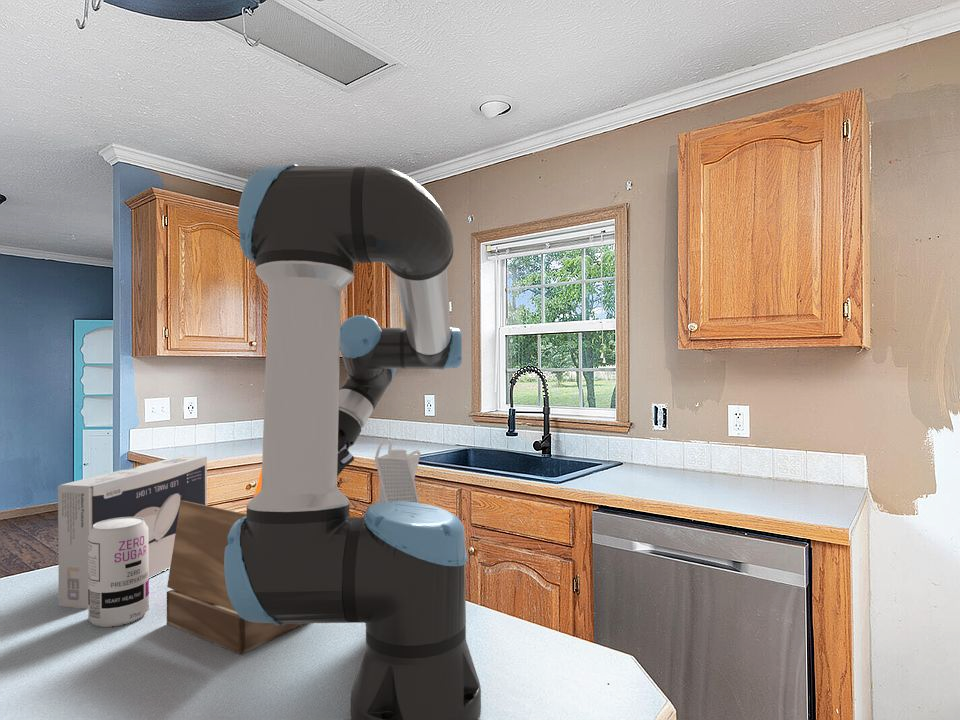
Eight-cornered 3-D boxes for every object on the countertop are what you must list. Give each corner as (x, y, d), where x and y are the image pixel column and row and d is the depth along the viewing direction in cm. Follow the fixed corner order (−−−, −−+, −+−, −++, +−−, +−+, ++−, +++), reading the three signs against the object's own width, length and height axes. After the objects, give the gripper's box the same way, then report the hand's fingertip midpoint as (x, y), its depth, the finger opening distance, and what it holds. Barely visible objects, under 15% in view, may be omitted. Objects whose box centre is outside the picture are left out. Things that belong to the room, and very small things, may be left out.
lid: (170, 586, 94) (183, 500, 96) (241, 611, 85) (254, 515, 86) (167, 587, 93) (180, 500, 95) (238, 612, 84) (251, 516, 86)
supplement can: (110, 606, 100) (110, 515, 100) (159, 607, 100) (159, 516, 100) (76, 628, 92) (75, 529, 92) (129, 629, 92) (128, 530, 92)
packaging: (89, 608, 100) (88, 486, 99) (58, 605, 101) (57, 485, 101) (208, 550, 129) (207, 456, 129) (182, 548, 130) (182, 455, 130)
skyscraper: (362, 615, 97) (362, 439, 96) (410, 605, 101) (409, 436, 100) (381, 637, 89) (380, 446, 89) (431, 624, 93) (431, 442, 93)
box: (245, 593, 106) (245, 565, 105) (318, 617, 96) (318, 586, 96) (166, 624, 94) (166, 591, 94) (241, 654, 84) (241, 618, 84)
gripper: (381, 434, 112) (315, 550, 99) (330, 429, 119) (261, 538, 106) (360, 408, 108) (288, 527, 94) (308, 405, 115) (234, 515, 101)
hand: (274, 533), depth 100 cm, fingers closed
